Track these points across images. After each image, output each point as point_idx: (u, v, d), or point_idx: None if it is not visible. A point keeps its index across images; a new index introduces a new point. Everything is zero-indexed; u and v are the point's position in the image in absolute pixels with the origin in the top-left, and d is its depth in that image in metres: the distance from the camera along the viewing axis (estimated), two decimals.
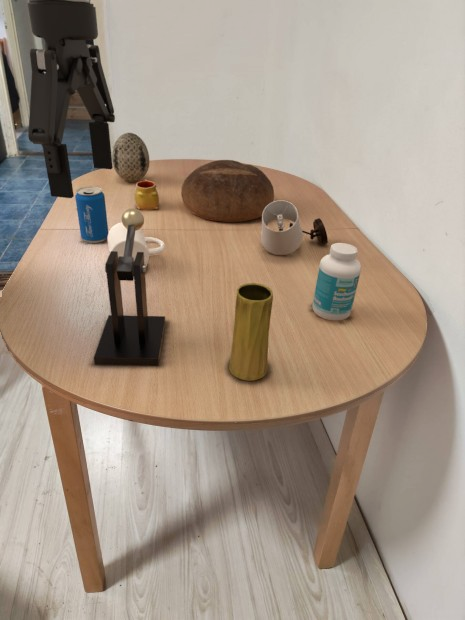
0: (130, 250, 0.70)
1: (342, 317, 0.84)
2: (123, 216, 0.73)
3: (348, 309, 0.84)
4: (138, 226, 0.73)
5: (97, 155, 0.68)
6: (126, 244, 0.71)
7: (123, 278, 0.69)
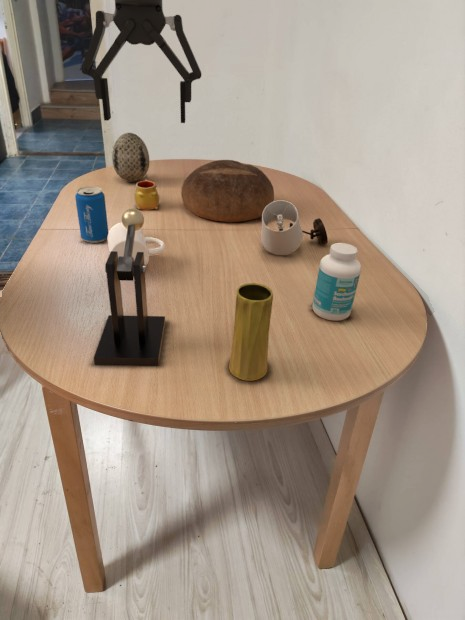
0: (130, 250, 0.70)
1: (342, 317, 0.84)
2: (123, 216, 0.73)
3: (348, 309, 0.84)
4: (138, 226, 0.73)
5: None
6: (126, 244, 0.71)
7: (123, 278, 0.69)
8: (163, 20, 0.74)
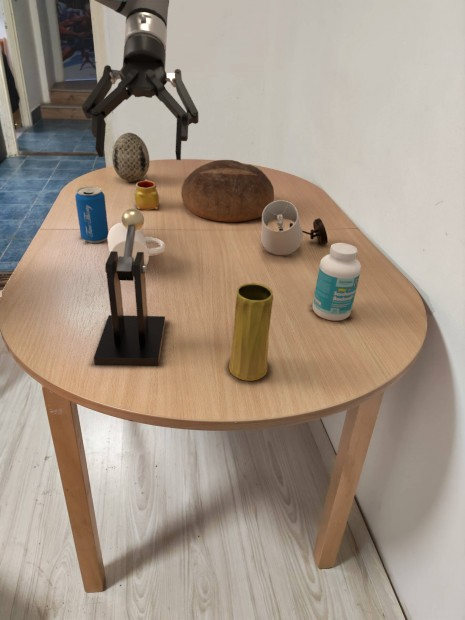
0: (130, 250, 0.70)
1: (342, 317, 0.84)
2: (123, 216, 0.73)
3: (348, 309, 0.84)
4: (138, 226, 0.73)
5: None
6: (126, 244, 0.71)
7: (123, 278, 0.69)
8: (164, 73, 0.81)
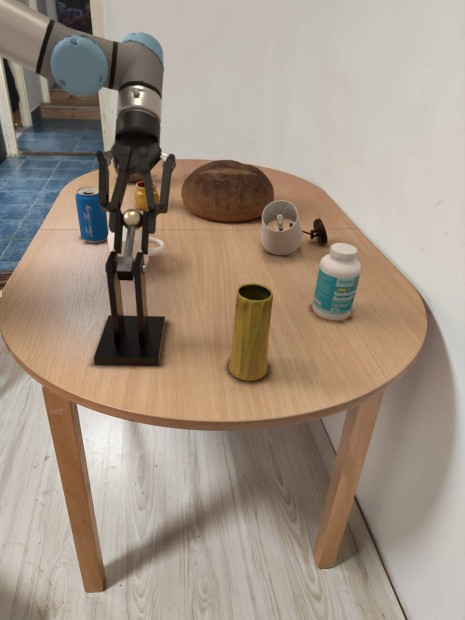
0: (130, 250, 0.70)
1: (342, 317, 0.84)
2: (123, 216, 0.73)
3: (348, 309, 0.84)
4: (138, 226, 0.73)
5: None
6: (126, 244, 0.71)
7: (123, 278, 0.69)
8: (159, 152, 0.76)
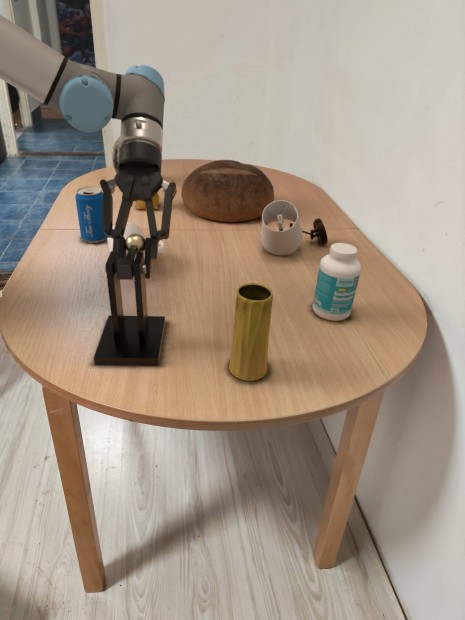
0: (131, 257, 0.71)
1: (342, 317, 0.84)
2: (127, 238, 0.77)
3: (348, 309, 0.84)
4: (140, 247, 0.76)
5: None
6: (128, 254, 0.72)
7: (122, 276, 0.68)
8: (160, 180, 0.79)
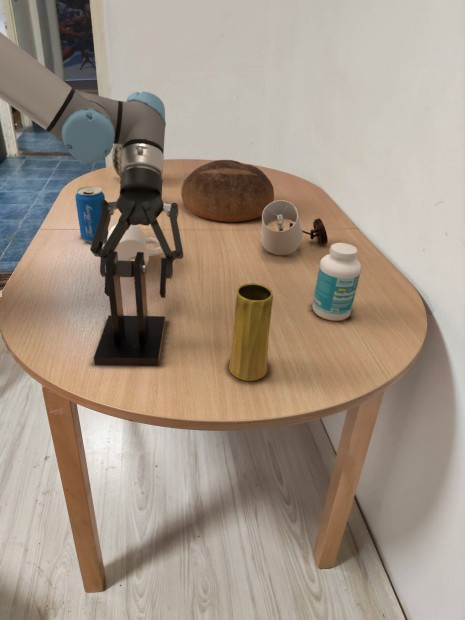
0: None
1: (342, 317, 0.84)
2: (128, 259, 0.78)
3: (348, 309, 0.84)
4: None
5: None
6: None
7: (122, 273, 0.68)
8: (161, 204, 0.81)
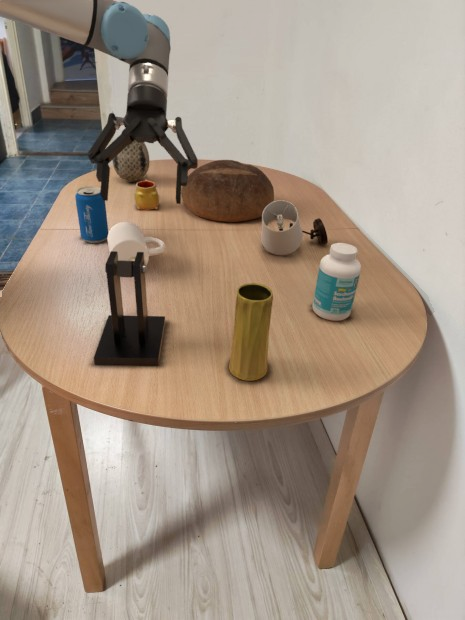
0: None
1: (342, 317, 0.84)
2: (128, 259, 0.78)
3: (348, 309, 0.84)
4: None
5: None
6: None
7: (122, 273, 0.68)
8: (166, 121, 0.86)
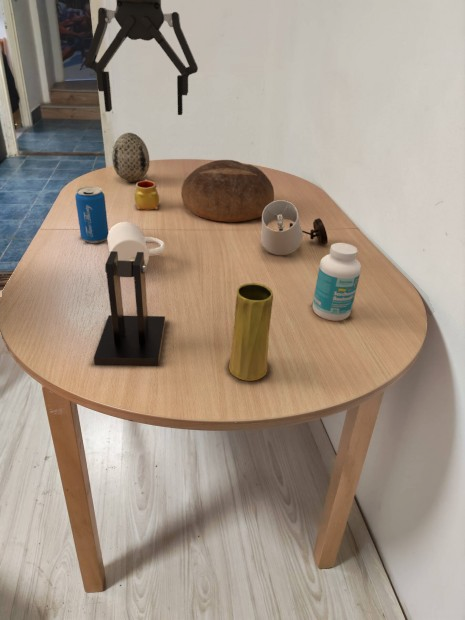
0: None
1: (342, 317, 0.84)
2: (128, 259, 0.78)
3: (348, 309, 0.84)
4: None
5: None
6: None
7: (122, 273, 0.68)
8: (161, 17, 0.78)
